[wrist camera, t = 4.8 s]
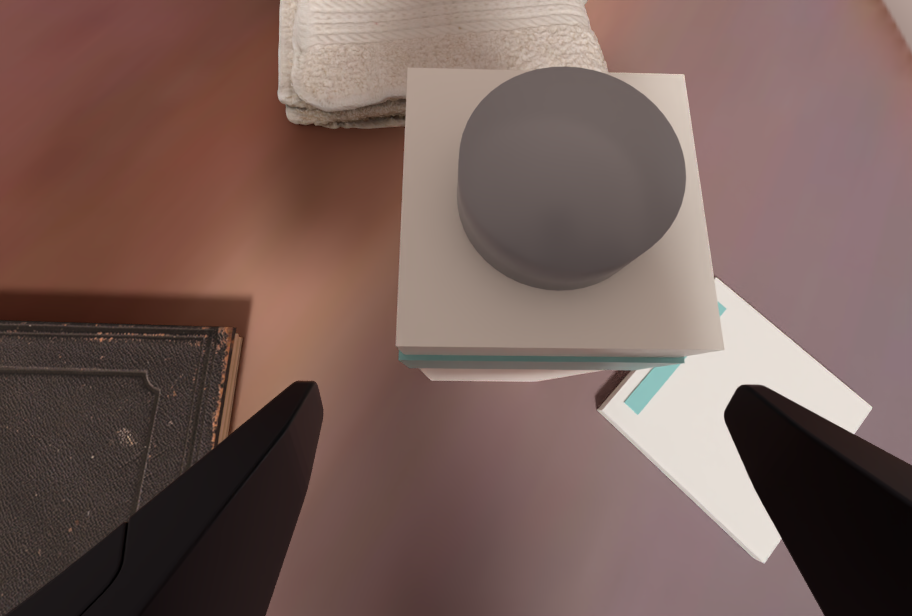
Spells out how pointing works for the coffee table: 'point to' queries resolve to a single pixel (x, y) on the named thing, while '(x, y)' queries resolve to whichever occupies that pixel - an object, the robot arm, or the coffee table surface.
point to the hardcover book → (98, 432)
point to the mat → (702, 415)
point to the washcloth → (414, 50)
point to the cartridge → (551, 225)
